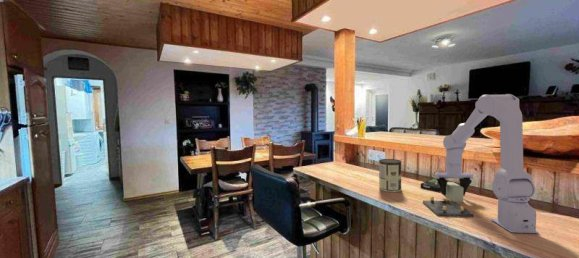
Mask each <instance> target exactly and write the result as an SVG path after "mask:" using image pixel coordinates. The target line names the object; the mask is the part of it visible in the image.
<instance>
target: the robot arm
mask: <svg viewBox="0 0 579 258" xmlns="http://www.w3.org/2000/svg"><path fill="white" fill-rule="evenodd" d="M487 116H490V117H494V119H496V120H497V121H498V122H499V132H500V133H499V134H500V135H499V137H500V138H499V140H500V143H499V145H500V169H499V170H497V172H495V174H494V176H493V178H494V179H493V182H492V183H491V190H492V192H493V195H495V197H496V198H497V217H496V218H495V217H492V218H490V220H491V221H492V222H494V223H495V224H497V225H499V226H500V227H502V228H503V229H505V230H506V231H509V233H519V234H520V233H521V234H523V233H525V234H539V231H538V230H537V228H536V227H537V211H536V209H534V207H532V206H531V205H530V204H529V202H528V201H530V200H531V199H530V198H533V196H534V195H535V193H536V187H535V184H534V182H533V175H531V174H530V173H529V172H526V171H525V170H524V138H523V137H524V136H523V135H524V134H523V125H524V124H523V114H522V111H521V109H520V99H519V98H518V97H516V96H515V95H513V94H511V93H505V94H482V95H481V96H479V98H478V100H476V101H475V108H474V109H473V111H472V112H471V114H470V115H469V117H468V118H467V120H466V122H463V123H462V122H461V123H459V124H458V125H457V127H456V129H455V130H454V131H453V132H452V134H449V135H445V136H444V138H443V141H442V144H443V147H444V148H445V150H446V152H445V172H435V173H434V179H437V181H438V183H439V185H440V188H441V192H442V193H441V192H440V193H441V195H442V196H444V195H446V186H447V182H448V181H449V180H446V179H458V180H459V185H460V186H461V187H463V188H464V193H463V197H465V196H466V193H467V191H468V187H470V185H471V184H472V182H473V181H472V180H473V179H474V174H472V173H468V172H467V173H466V172H463V170H462V168H463V154H464V150H465V148H466V146H467V141H468V140H469V139H470V137H472V136H473V134H475V131H476V130H475V128H476V127H477V126H478V125H479V124H480V123H481V122H483V120H484V119H485V118H486V117H487Z"/></svg>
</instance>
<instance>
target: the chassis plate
mask: <svg viewBox="0 0 579 258" xmlns="http://www.w3.org/2000/svg"><path fill="white" fill-rule="evenodd" d="M445 197H446V196H445ZM422 204H423V205H424V206H426V207H427V208H428V209H429V210H430V211H431V212H433V213H434V214H435V215H436V216H438V217H466V218H467V217H468V218H470V217H472V218H474V213H473V212H471V211H469V210H468V209H467V208H465V206H462V205H461V204H459V203H458V202H457V201H452V200H450V197H446V198H445V200H435V197H434V196H430V200H422Z"/></svg>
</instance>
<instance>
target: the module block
mask: <svg viewBox="0 0 579 258" xmlns="http://www.w3.org/2000/svg"><path fill="white" fill-rule="evenodd" d="M454 182H455V181H451V182H447V186H446V195H443V196H444V197H450V201H454V202H456V203H459V202H464V196H463V193H464V188H463V187H461V186H460V184H457V183H456V182H455V183H454Z"/></svg>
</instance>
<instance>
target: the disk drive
mask: <svg viewBox="0 0 579 258" xmlns="http://www.w3.org/2000/svg"><path fill="white" fill-rule="evenodd" d="M447 181H448V182H452V181H449V180H447ZM453 182H454V183H456V182H455V181H453ZM420 188H421V189H425V190H427V191H428V190H429V191H432V192H437V193H441V194H442V192H441V188H440V185H439V183H438V181H437V179H436V178H431V179H429V180H426V181H424V182H421V183H420Z"/></svg>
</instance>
